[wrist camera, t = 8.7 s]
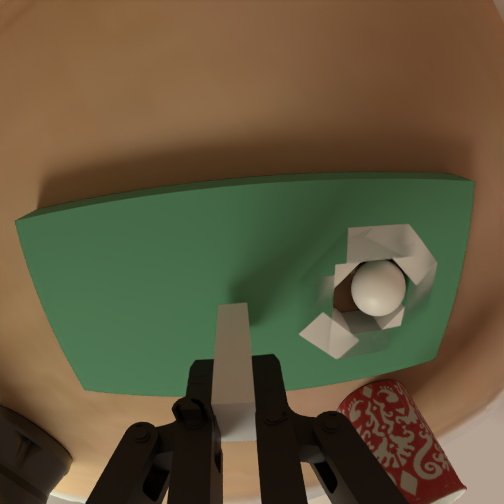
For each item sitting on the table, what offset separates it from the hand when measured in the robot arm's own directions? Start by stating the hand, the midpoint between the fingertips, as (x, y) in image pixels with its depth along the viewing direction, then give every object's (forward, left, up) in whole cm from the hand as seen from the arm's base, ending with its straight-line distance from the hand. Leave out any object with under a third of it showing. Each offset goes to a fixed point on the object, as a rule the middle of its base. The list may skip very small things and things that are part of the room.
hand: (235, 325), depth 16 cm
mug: (+12, -16, -4) cm, 20 cm away
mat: (+1, 0, -3) cm, 3 cm away
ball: (+9, 0, -2) cm, 9 cm away
